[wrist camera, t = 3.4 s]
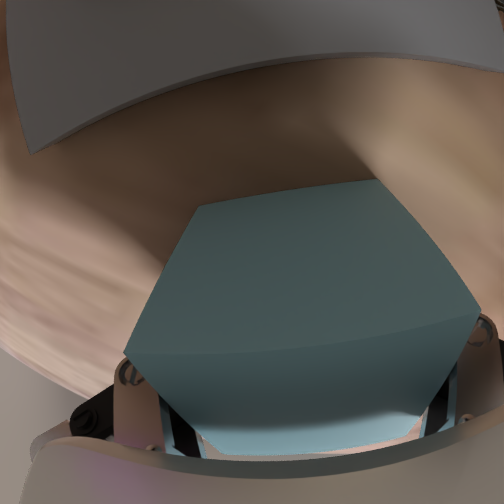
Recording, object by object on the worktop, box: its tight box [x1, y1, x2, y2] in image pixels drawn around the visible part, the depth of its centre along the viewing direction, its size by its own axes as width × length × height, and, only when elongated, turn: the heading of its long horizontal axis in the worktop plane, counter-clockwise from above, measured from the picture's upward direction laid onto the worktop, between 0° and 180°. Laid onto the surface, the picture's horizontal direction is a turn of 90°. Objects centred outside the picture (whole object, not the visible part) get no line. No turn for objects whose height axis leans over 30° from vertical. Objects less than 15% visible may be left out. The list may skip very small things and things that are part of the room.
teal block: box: [123, 179, 481, 455], centre depth 8 cm, size 6×6×6 cm
